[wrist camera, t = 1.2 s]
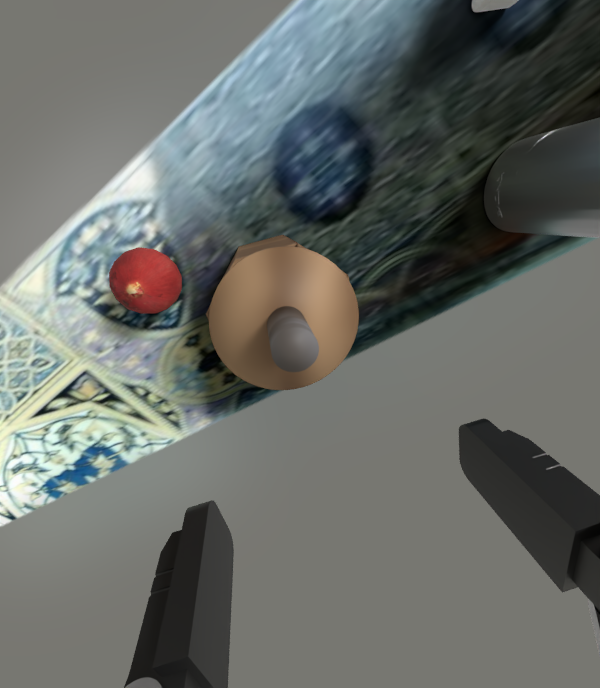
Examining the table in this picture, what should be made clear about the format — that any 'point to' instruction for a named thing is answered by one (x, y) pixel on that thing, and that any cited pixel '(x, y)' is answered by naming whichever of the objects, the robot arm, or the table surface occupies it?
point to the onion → (145, 280)
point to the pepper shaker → (491, 4)
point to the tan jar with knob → (282, 315)
